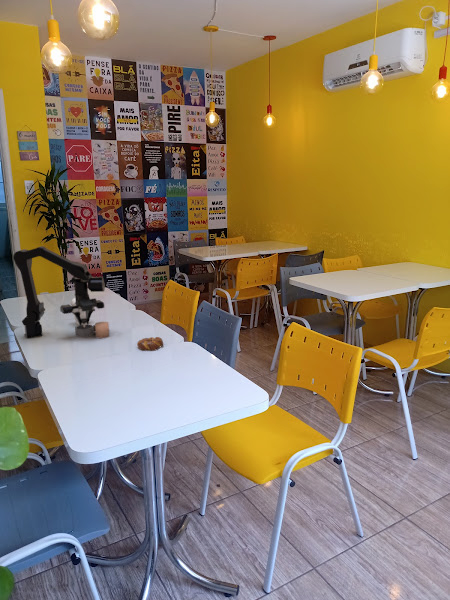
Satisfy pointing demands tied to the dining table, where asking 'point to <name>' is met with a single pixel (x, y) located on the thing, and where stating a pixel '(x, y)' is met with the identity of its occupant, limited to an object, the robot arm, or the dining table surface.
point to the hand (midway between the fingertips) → (84, 324)
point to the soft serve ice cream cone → (82, 313)
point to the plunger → (83, 320)
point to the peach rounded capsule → (102, 329)
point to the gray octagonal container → (84, 330)
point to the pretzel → (150, 343)
